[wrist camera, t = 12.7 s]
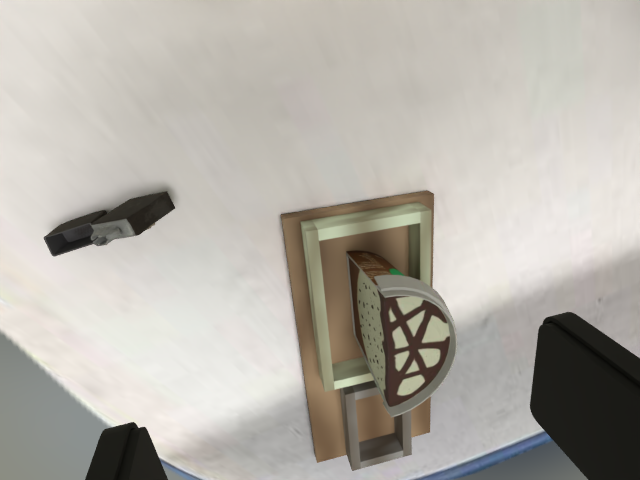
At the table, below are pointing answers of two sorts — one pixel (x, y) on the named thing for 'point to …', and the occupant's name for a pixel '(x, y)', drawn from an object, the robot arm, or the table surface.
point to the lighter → (109, 224)
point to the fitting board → (336, 320)
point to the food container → (399, 331)
